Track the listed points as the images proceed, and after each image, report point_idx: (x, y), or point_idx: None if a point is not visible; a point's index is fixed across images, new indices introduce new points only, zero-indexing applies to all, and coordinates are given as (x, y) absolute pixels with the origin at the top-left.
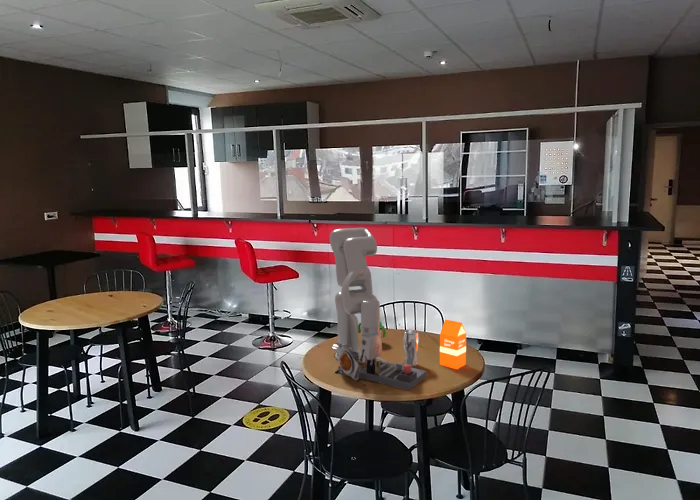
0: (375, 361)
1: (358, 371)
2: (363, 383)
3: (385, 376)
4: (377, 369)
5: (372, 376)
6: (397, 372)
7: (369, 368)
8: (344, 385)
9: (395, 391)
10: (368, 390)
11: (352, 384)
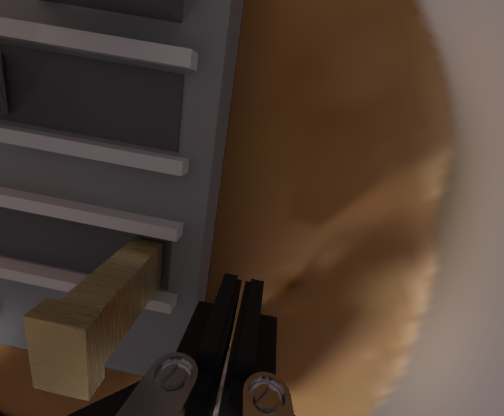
0: (152, 378)
1: (219, 393)
2: (266, 298)
3: (184, 170)
4: (141, 277)
5: (201, 277)
6: (29, 98)
7: (273, 361)
8: (336, 384)
9: (330, 12)
10: (372, 235)
11: (306, 350)
